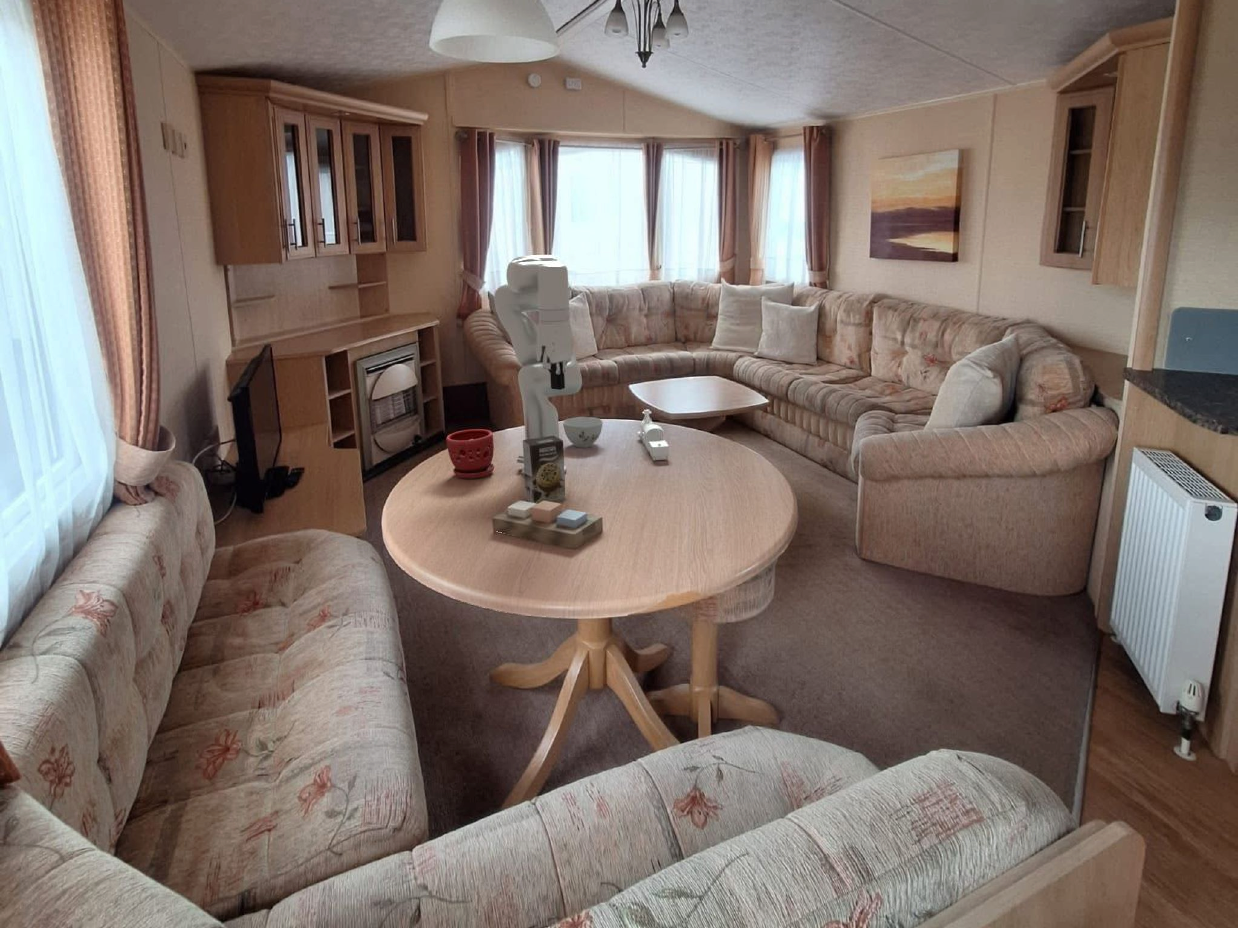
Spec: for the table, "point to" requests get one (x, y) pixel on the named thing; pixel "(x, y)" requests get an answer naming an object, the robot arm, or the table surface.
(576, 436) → the teacup
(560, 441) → the coffee box
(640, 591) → the table surface
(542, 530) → the key panel
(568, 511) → the key blue
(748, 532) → the table surface
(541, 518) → the key terracotta
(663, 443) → the toy train
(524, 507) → the key white
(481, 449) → the plant pot
